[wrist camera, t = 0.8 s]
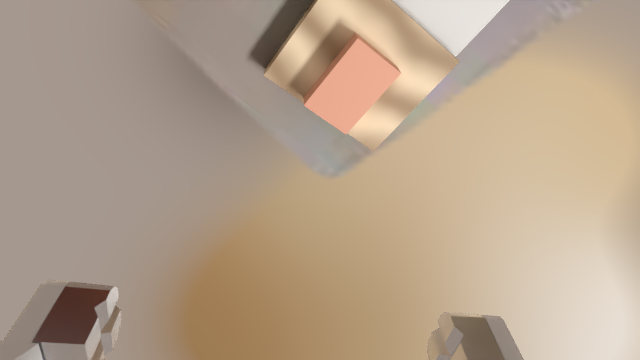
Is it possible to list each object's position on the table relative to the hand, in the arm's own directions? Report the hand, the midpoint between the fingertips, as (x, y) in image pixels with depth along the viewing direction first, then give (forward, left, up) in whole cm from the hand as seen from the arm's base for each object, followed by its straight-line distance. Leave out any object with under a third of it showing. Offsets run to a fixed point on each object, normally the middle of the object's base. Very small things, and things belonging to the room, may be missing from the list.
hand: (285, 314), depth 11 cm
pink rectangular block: (+3, +10, -37) cm, 39 cm away
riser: (+1, +10, -39) cm, 40 cm away
